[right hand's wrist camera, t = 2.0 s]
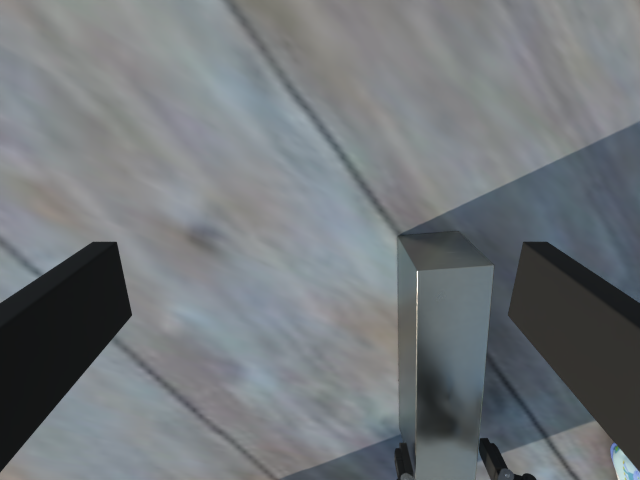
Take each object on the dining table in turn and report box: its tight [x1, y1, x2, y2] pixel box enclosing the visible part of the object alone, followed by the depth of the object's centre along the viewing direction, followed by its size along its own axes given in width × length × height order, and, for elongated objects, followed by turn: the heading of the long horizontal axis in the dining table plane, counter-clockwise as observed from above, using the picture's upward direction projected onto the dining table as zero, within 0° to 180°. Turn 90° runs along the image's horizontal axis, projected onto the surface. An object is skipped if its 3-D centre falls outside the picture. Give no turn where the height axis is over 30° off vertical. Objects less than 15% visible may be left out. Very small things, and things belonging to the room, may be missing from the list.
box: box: [397, 231, 494, 480], centre depth 39 cm, size 26×6×8 cm, turn 5°
